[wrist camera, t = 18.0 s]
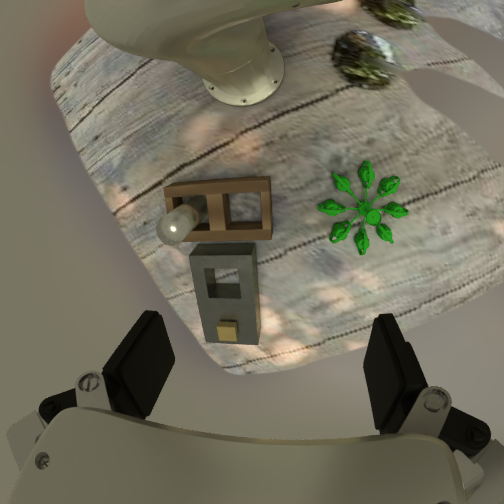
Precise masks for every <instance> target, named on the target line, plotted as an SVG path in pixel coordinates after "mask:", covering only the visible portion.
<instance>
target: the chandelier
mask: <svg viewBox="0 0 504 504" xmlns="http://www.w3.org/2000/svg"><path fill="white" fill-rule="evenodd" d="M366 164H368V167H366ZM362 173H363V174H362ZM358 174H359V177H360V179H362V183H363V186H364V188H365V202H361V203H360V201H359V200H358V199H357V198H356V197H355V196H354V195H353V192H352V191H351V189H350V182H349V180H348V179H347V178H346V177H344V176H338V175H337V174H335V173H334V172H333V173H332V176H333V177H334V178H335V181H334V182H335V184H334V185H335V186H336V188H337V189H339V190H340V191H347V192H348V193H349V194H350V195H352V196H353V197H354V198H355V199H356V200H357V202H358V203H359V206H358V208H345V206H343V205H339V204H337V203H336V202H335V201H334V200H331V199H330V200H327V201H326V202H325V204H319V205H318V210H319V211H321V212H325V213H327V214H328V215H330V216H335V215H337V214H338V213H343V212H345V209H353V210H358V212H359V214H358V215H357V216H356V217H355V218H354V219H353V220H352V221H351V222H349V221H345V222H343V223H337V224H335V225H334V226H333V232H332V233H331V235H330V237H329V240H330V241H331V242H332V243H337V242H339V241H340V240H344V239H346V237H347V234H348V233H349V231H350V229H351V223H352V222H353V221H354V220H355V219H356V218H357V217H358V216H359V215H363V216H364V220H363V228H361V229H360V230H359V233H358V234H357V236H355V238H354V240H355V243H356V245H357V246H358V251H359V254H360V255H365V253H366V250H367V248H368V247H369V239H368V238H367V234H366V230H365V229H364V226H365V216H366V221H367V222H368V223H369V224H370V225H372V226H375V225H376V226H377V227H378V228H377V234H378V236H379V237H380V238H381V239H382V240H384V241H390V243H391V244H393V243H394V241H393V240H392V232H391V229H390V228H388V227H387V226H386V225H384V224H381V225H380V224H379V223H380V221H381V214H380V212H379V211H377V210H380V211H384V212H386V213H388V214H390V215H392V216H393V217H395V218H401V217H402V216H406V215H408V212H409V211H408V210H407V209H405V208H402V207H401V206H400V205H399V204H397V203H395V202H392V203H390V204H389V206H384V208H383V209H371V204H372V203H373V202H374V201H375V200H376V199H377V198H379V197H380V196H381V197H384V196H387V195H389V194H393V193H395V192H396V190H397V187H398V186H399V184H400V179H399V177H398V176H394V177H391V178H389V179H388V178H387V179H383V180H382V181H381V184H380V186H381V187H380V188H379V190H378V194H379V195H378V196H377V197H376V198H375V199H374V200H373V201H372V202H371V203H370V204H369V203H368V202H366V199H367V189H369V188H370V187H371V184H372V181H373V180H374V178H375V174H374V172H373V170H372V166H371V163H370V161H364V163H363V166H362V168H360V170H359V172H358ZM395 179H398V180H397V183H395V182H394V181H392V180H395ZM366 182H368V185H366ZM385 186H386V187H385ZM382 190H383V191H385V193H383V194H381V191H382ZM331 203H332V204H331ZM321 207H324V209H323V208H321ZM339 208H342V209H340V210H339ZM392 208H393V209H392ZM346 224H349V225H348V228H347V229H346V227H345V226H344V225H346ZM362 231H363V233H362ZM359 235H360V236H359ZM333 236H335V237H336V238H337V239H335V240H332V238H333ZM361 250H363V252H362V251H361Z"/></svg>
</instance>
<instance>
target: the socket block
mask: <svg viewBox="0 0 504 504" xmlns="http://www.w3.org/2000/svg"><path fill="white" fill-rule="evenodd" d="M189 260H190V266H191V271H192V277H193V282H194V288H195V293H196V298H197V303H198V308H199V313H200V317H201V322H202V327H203V331H204V336H205V340H206V342H211V343H226V344H245V345H258V343H259V338H260V332H261V319H260V304H259V289H258V274H257V259H256V244H255V243H224V244H198V245H197V246H196V247H195V249H194V250H193V251H192V252H191V254H190V255H189ZM214 268H238V271H239V280H240V284H222V283H216V281H215V274H214ZM219 321H222V322H237V329H238V339H237V341H220V340H219V337H218V331H217V324H218V322H219Z"/></svg>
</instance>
